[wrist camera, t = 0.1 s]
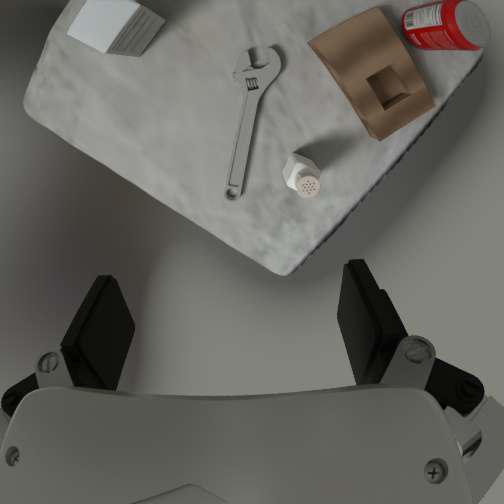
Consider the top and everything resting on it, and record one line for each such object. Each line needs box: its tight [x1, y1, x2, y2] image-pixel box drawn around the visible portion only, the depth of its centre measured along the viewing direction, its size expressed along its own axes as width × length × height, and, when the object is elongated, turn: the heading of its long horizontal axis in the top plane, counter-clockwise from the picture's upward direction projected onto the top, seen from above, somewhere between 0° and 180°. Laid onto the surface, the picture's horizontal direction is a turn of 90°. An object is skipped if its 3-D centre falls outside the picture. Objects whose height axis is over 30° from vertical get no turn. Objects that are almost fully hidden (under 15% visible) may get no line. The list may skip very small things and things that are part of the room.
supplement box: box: [67, 0, 166, 57], centre depth 28 cm, size 7×7×13 cm
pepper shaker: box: [283, 153, 320, 198], centre depth 42 cm, size 4×4×10 cm
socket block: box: [307, 6, 435, 141], centre depth 36 cm, size 18×12×4 cm, turn 38°
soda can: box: [402, 0, 491, 51], centre depth 26 cm, size 8×8×15 cm
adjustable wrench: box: [224, 48, 281, 202], centre depth 42 cm, size 25×6×2 cm, turn 164°
